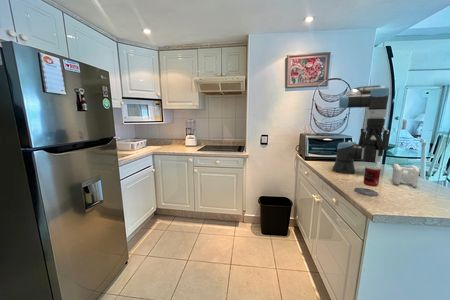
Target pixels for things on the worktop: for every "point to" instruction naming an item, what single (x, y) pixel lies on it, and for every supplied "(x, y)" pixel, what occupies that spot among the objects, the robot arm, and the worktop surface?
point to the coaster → (366, 191)
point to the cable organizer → (405, 174)
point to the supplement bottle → (370, 151)
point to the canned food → (372, 175)
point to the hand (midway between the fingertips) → (370, 160)
